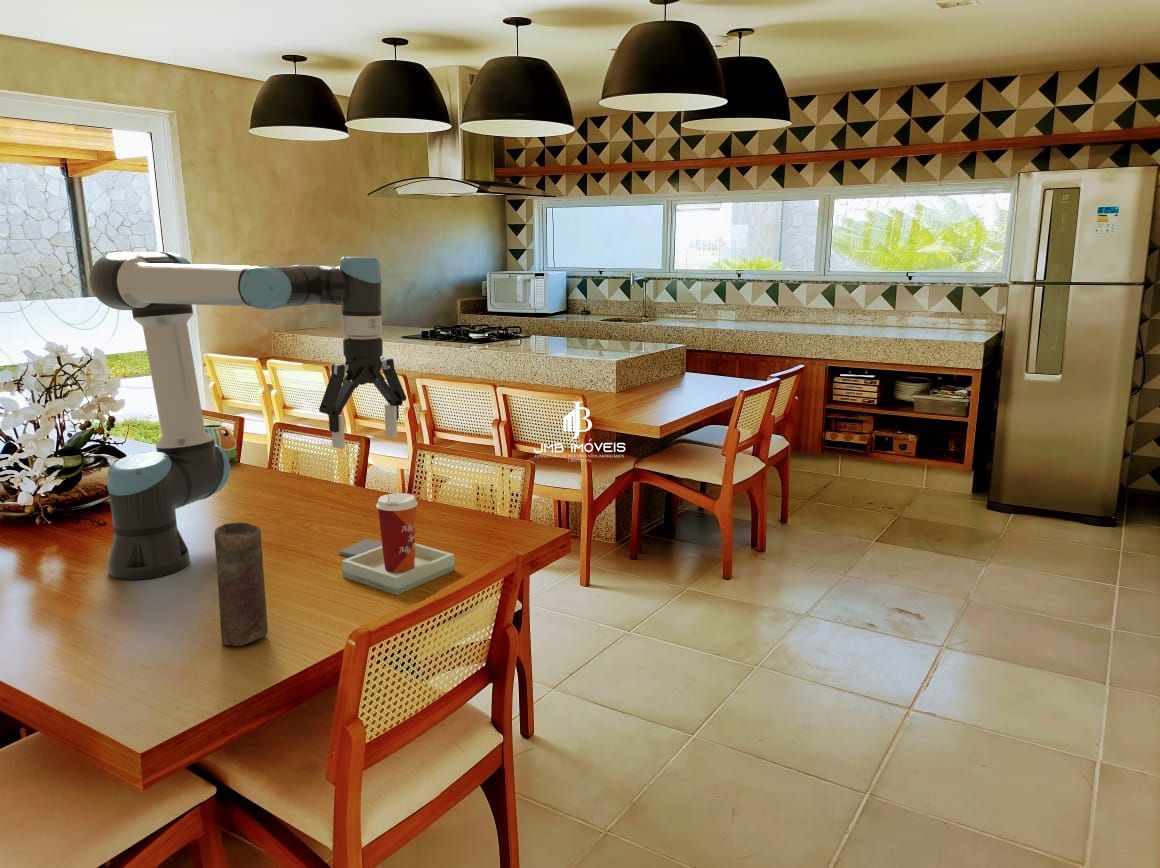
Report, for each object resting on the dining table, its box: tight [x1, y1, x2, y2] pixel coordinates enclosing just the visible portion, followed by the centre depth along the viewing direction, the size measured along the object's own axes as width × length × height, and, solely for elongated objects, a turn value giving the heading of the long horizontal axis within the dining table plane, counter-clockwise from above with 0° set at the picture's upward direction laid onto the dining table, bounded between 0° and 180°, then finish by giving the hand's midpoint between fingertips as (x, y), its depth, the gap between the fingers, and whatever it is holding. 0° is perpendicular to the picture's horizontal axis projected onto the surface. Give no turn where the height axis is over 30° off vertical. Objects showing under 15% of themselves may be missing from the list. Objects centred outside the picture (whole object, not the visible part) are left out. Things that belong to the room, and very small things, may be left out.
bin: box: [341, 542, 456, 596], centre depth 170 cm, size 16×16×4 cm
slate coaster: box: [338, 538, 382, 558], centre depth 183 cm, size 9×9×1 cm
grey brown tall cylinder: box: [213, 521, 269, 647], centre depth 139 cm, size 8×7×20 cm
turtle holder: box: [204, 423, 239, 462], centre depth 258 cm, size 12×18×12 cm
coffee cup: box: [375, 492, 419, 573], centre depth 169 cm, size 8×8×15 cm
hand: (365, 441), depth 167 cm, fingers open, 13 cm apart
